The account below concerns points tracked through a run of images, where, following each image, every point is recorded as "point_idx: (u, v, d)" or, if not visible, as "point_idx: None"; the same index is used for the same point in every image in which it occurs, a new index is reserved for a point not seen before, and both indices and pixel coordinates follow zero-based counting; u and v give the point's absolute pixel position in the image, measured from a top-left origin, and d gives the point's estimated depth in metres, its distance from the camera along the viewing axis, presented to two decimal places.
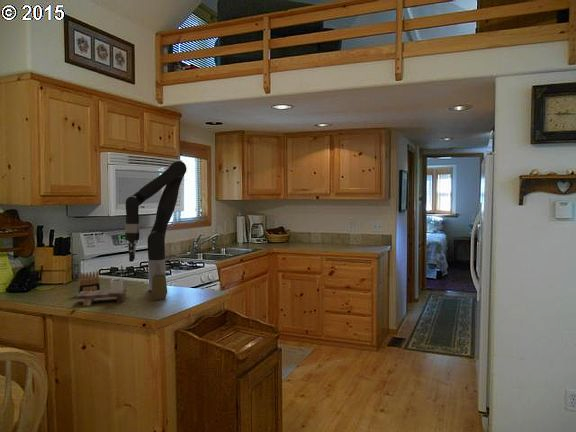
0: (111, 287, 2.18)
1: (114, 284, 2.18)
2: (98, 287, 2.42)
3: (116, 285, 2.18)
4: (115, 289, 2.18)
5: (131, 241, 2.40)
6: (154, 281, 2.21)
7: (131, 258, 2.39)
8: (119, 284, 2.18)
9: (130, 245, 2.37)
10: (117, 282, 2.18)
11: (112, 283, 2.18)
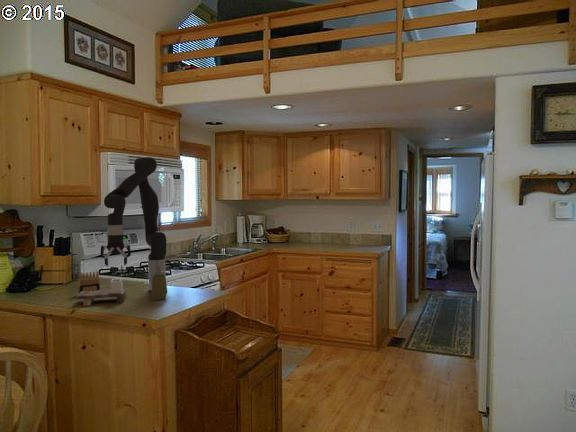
0: (111, 287, 2.18)
1: (114, 284, 2.18)
2: (98, 287, 2.42)
3: (116, 285, 2.18)
4: (115, 289, 2.18)
5: (123, 243, 2.22)
6: (154, 281, 2.21)
7: None
8: (119, 284, 2.18)
9: (129, 247, 2.23)
10: (117, 282, 2.18)
11: (112, 283, 2.18)
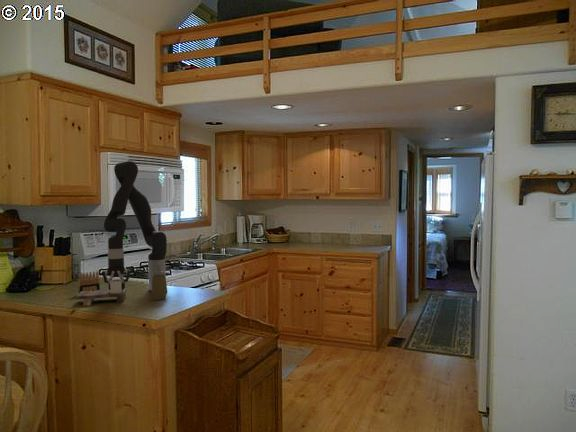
0: (111, 287, 2.18)
1: (114, 284, 2.18)
2: (98, 287, 2.42)
3: (116, 285, 2.18)
4: (115, 289, 2.18)
5: (123, 266, 2.23)
6: (154, 281, 2.21)
7: (124, 286, 2.24)
8: (119, 284, 2.18)
9: (129, 272, 2.23)
10: (117, 282, 2.18)
11: (112, 283, 2.18)
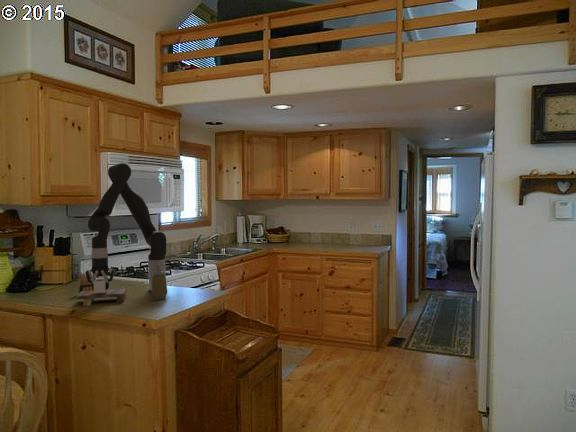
0: (95, 287, 2.15)
1: (98, 284, 2.16)
2: None
3: (100, 285, 2.16)
4: (98, 289, 2.16)
5: (107, 266, 2.21)
6: (154, 281, 2.21)
7: (108, 285, 2.21)
8: (103, 284, 2.16)
9: None
10: (101, 282, 2.16)
11: (96, 283, 2.15)
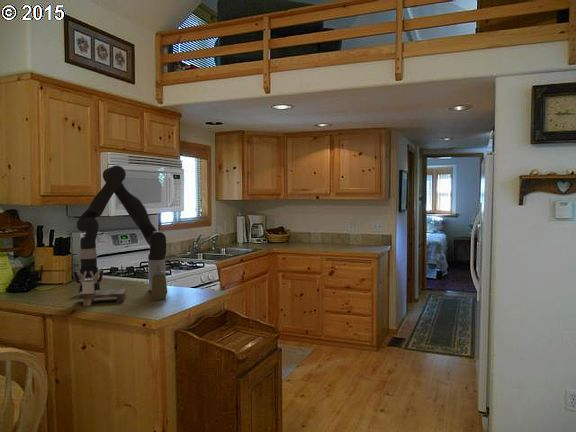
0: (83, 288, 2.14)
1: (86, 284, 2.15)
2: (98, 287, 2.42)
3: (88, 286, 2.15)
4: (87, 290, 2.15)
5: (96, 267, 2.20)
6: (154, 281, 2.21)
7: (97, 286, 2.20)
8: (91, 284, 2.15)
9: None
10: (89, 282, 2.15)
11: (84, 283, 2.14)
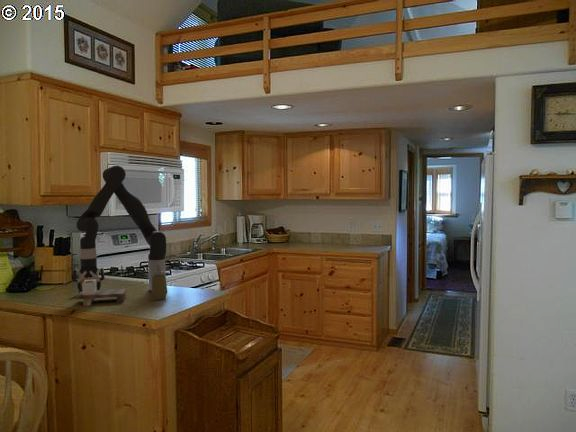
0: (83, 289, 2.14)
1: (86, 285, 2.15)
2: None
3: (88, 286, 2.15)
4: (87, 291, 2.15)
5: (96, 267, 2.20)
6: (154, 281, 2.21)
7: (100, 284, 2.21)
8: (91, 285, 2.15)
9: (103, 270, 2.20)
10: (89, 283, 2.15)
11: (84, 284, 2.14)
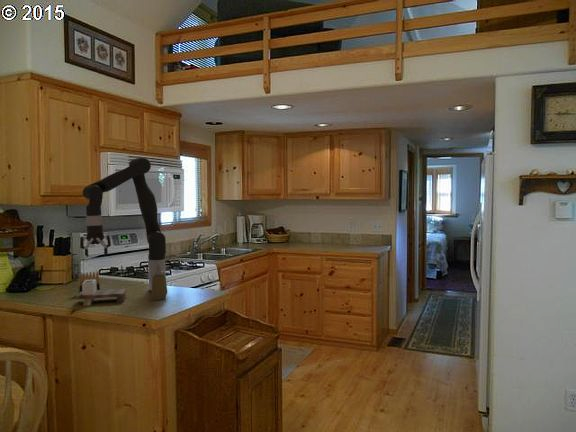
0: (83, 289, 2.14)
1: (86, 285, 2.15)
2: (98, 287, 2.42)
3: (88, 286, 2.15)
4: (87, 291, 2.15)
5: (102, 234, 2.23)
6: (154, 281, 2.21)
7: (107, 251, 2.24)
8: (91, 285, 2.15)
9: (109, 237, 2.24)
10: (89, 283, 2.15)
11: (84, 284, 2.14)
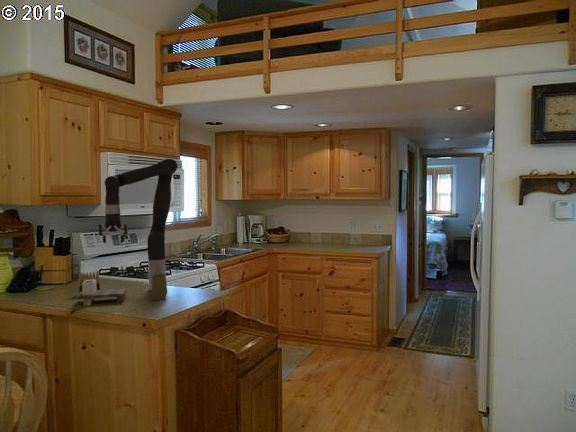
0: (83, 289, 2.14)
1: (86, 285, 2.15)
2: (98, 287, 2.42)
3: (88, 286, 2.15)
4: (87, 291, 2.15)
5: (120, 222, 2.37)
6: (154, 281, 2.21)
7: (123, 239, 2.38)
8: (91, 285, 2.15)
9: (126, 225, 2.37)
10: (89, 283, 2.15)
11: (84, 284, 2.14)
